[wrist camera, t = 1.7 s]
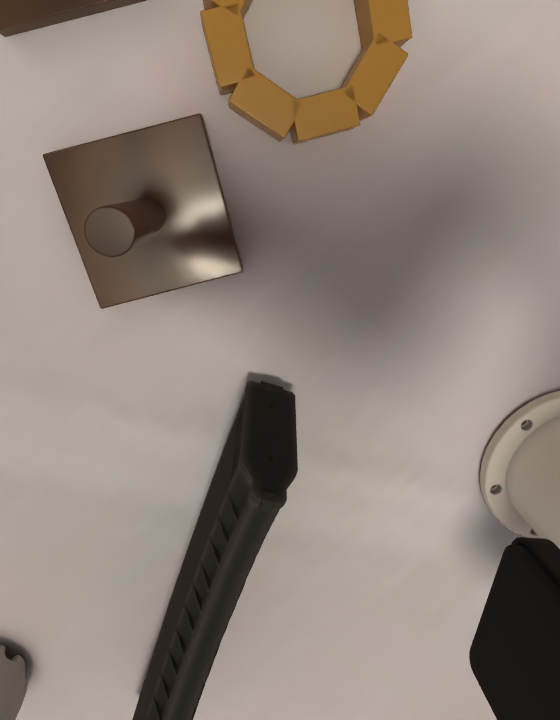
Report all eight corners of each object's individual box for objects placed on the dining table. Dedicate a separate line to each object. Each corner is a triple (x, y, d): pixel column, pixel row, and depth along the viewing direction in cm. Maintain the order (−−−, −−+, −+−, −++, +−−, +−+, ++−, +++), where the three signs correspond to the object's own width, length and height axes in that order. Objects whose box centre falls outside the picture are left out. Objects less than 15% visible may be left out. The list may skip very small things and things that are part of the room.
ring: (376, -100, 27) (390, -128, 24) (406, 115, 30) (422, 108, 28) (183, -50, 26) (178, -73, 24) (236, 159, 30) (236, 157, 28)
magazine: (269, 391, 25) (94, 972, 25) (329, 408, 26) (159, 975, 26) (235, 367, 42) (130, 716, 42) (272, 378, 43) (169, 722, 43)
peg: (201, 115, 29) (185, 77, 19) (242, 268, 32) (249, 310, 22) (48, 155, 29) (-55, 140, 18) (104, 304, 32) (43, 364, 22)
